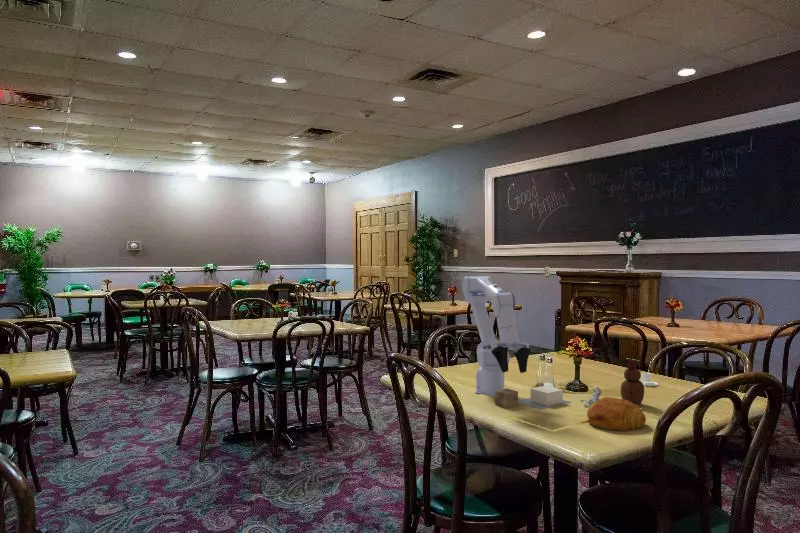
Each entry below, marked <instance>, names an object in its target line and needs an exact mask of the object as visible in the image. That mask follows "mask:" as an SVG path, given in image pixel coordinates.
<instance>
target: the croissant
mask: <svg viewBox="0 0 800 533" xmlns="http://www.w3.org/2000/svg"><path fill="white" fill-rule="evenodd" d="M586 416H587V421H588V423H589V425H592V426H595V427H597V428H601V429H605V430H609V431H611V430H612V431H620V432H629V431H630V430H637V429H639V428H642V427H643V426H645V424H646V421H647V418H646V415H645V413H644V412H643V410H642V409H641V407H640V406H639V405H637V404H633V403H631V402H629V401H627V400H624V399H622V398H616V397H608V396H605V397H602V398H599V401H597V402H595V403H593V404H591V405H590V407H588V409H587V414H586Z"/></svg>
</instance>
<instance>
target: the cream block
mask: <svg viewBox="0 0 800 533" xmlns="http://www.w3.org/2000/svg"><path fill="white" fill-rule="evenodd" d="M530 397H531V402H535V403H538V404H542V405H546V406H550V405H554V404H559V403H563V400H564V390H563V389H561V388H557V387H552V386H548V385H542V386H538V387H533V388H530Z"/></svg>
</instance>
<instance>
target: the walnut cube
mask: <svg viewBox="0 0 800 533" xmlns="http://www.w3.org/2000/svg"><path fill="white" fill-rule="evenodd" d="M518 400H519V391H518V390H513V389H511V388H504V389H501V390H495V396H494V405H496V406H498V407H503V408H505V409H507V408H512V407H516V406H517V407H518V406H519V403H518Z"/></svg>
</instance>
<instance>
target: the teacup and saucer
mask: <svg viewBox="0 0 800 533" xmlns="http://www.w3.org/2000/svg"><path fill="white" fill-rule="evenodd" d="M640 373H641V380H640V381H641V382H642V383H643V385H644V387H657V386H659V383H658V382H656V381H651V378H652V377H651V376H652V374H651V373H650V372H640Z"/></svg>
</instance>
